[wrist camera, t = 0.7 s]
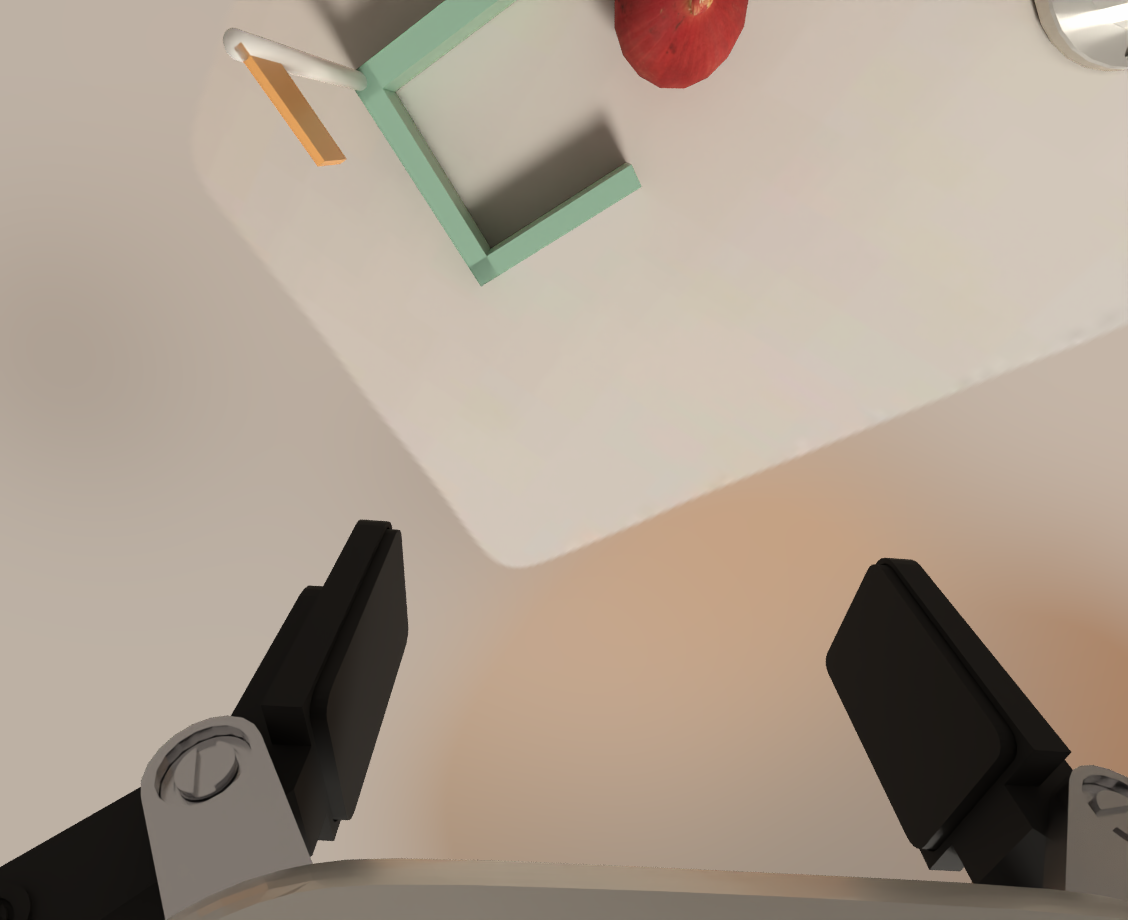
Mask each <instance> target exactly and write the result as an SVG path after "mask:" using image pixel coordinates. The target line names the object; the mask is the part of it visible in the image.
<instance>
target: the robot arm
mask: <svg viewBox="0 0 1128 920" xmlns="http://www.w3.org/2000/svg"><path fill="white" fill-rule="evenodd" d="M1034 1H1035V4H1036V8H1037V12H1038V15H1039V19H1040V22H1041V25H1042V27H1043V29H1044V30H1045V32H1046V34H1047V36H1048V37H1049V39H1050V41H1051V43H1052V44H1053V45H1054V46H1055V47H1056V48H1057V49H1058V50H1059V51H1060V52H1061V53H1062V54H1063V55H1064V56H1065V57H1066V58H1068V59H1070V60H1072V61H1074V62H1076V63H1077V64H1079V65H1081V66H1083V67H1086V68H1091V69H1097V70H1102V71H1119V70H1128V0H1034ZM407 637H408V618H407V604H406V590H405V578H404V563H403V551H402V537H401V532H400V530H393V529H392V525H391V523H390V522H387V521H373V520H359V521H358V522H357V524H356V525H355V527H354V529H353V531H352V533H351V535H350V537H349V539H348V541H347V543H346V545H345V546H344V548H343V550H342V552H341V554H340V556H339V558H338V559H337V561H336V563H335V565H334V567H333V569H332V571H331V573H330V575H329V576H328V578H327V580H326V582H325V584H324V586H308V587H306V588H305V589H304V590H303V591H302V593H301V594H300V596H299V597H298V599H297V601H296V603H295V604H294V606H293V608H292V610H291V611H290V613H289V615H288V617H287V618H286V620H285V622H284V624H283V625H282V627H281V629H280V631H279V633H278V634H277V636H276V638H275V639H274V641H273V643H272V645H271V646H270V648H269V650H268V652H267V654H266V655H265V657H264V659H263V660H262V662H261V664H260V666H259V668H258V669H257V671H256V673H255V674H254V676H253V678H252V680H251V681H250V683H249V685H248V687H247V688H246V690H245V692H244V694H243V696H242V697H241V699H240V701H239V703H238V705H237V706H236V708H235V710H234V711H233V713H232V715H231V716H222V717H213V718H209V719H206V720H203V721H201V722H198V723H195V724H192V725H191V726H189V727H187V728H186V729H184V730H182V731H181V732H179V733H177V734H176V735H174V736H173V737H172V738H171V739H170V740H169V741H167V742H166V743H165V744H164V745H163V746H162V747H161V748H160V749H159V750H158V751H157V753H156V754H155V755H154V757H153V758H152V759H151V761H150V762H149V763H148V765H147V767H146V770H145V772H144V775H143V777H142V780H141V787H140V788H138V789H136V790H134V791H133V792H131V793H129V794H127V795H126V796H124V797H122V798H120V799H119V800H117V801H115V802H114V803H112V804H110V805H108V806H107V807H105V808H103V809H101V810H99V811H98V812H96V813H94V814H92V815H91V816H89V817H87V818H85V819H84V820H82V821H80V822H78V823H77V824H75V825H73V826H71V827H70V828H68V829H66V830H64V831H63V832H61V833H59V834H57V835H56V836H54V837H52V838H50V839H49V840H47V841H45V842H43V843H42V844H40V845H38V846H36V847H35V848H33V849H31V850H29V851H28V852H26V853H24V854H22V855H21V856H19V857H17V858H15V859H14V860H12V861H10V862H8V863H7V864H5V865H3V866H1V867H0V920H1128V778H1127V777H1125V776H1123V775H1121V774H1119V773H1116V772H1114V771H1111V770H1110V769H1106V768H1102V767H1098V766H1094V765H1089V766H1079V767H1078V768H1076V769H1074V770H1072V768H1071V767H1070V766H1069V765H1068V763H1067V762H1066V761H1065V759H1066V757H1067V756H1068V755H1069V754H1070V753H1071V751H1070V750H1069V749H1068V747H1067V746H1066V745H1065V744H1064V742H1063V741H1062V740H1061V739H1060V738H1059V736H1058V735H1057V734H1056V733H1055V732H1054V730H1053V729H1052V728H1051V726H1050V725H1049V724H1048V723H1047V721H1046V720H1045V719H1044V718H1043V716H1042V715H1041V714H1040V713H1039V712H1038V710H1037V709H1036V708H1035V707H1034V705H1033V704H1032V703H1031V702H1030V700H1029V699H1028V698H1027V697H1026V695H1025V694H1024V693H1023V692H1022V691H1021V690H1020V688H1019V687H1018V686H1017V684H1016V683H1015V682H1014V681H1013V679H1012V678H1011V677H1010V676H1009V675H1008V673H1007V672H1006V671H1005V670H1004V669H1003V667H1002V666H1001V665H1000V663H999V662H998V661H997V660H996V659H995V657H994V656H993V655H992V653H991V652H990V651H989V650H988V649H987V647H986V646H985V645H984V644H983V642H982V641H981V640H980V639H979V637H978V636H977V635H976V634H975V632H974V631H973V630H972V629H971V628H970V626H969V625H968V624H967V623H966V621H965V620H964V619H963V618H962V616H961V615H960V614H959V613H958V611H957V610H956V609H955V608H954V607H953V606H952V604H951V603H950V602H949V600H948V599H947V598H946V597H945V595H944V594H943V593H942V592H941V590H940V589H939V588H938V587H937V586H936V584H935V583H934V582H933V581H932V579H931V578H930V577H929V576H928V575H927V573H926V572H925V571H924V569H923V568H922V567H921V566H920V565H919V564H918V563H917V562H916V561H913V560H908V559H894V558H882V559H880V560H879V561H878V562H877V563H876V564H875V565H871V566H870V567H869V569H868V570H867V573H866V574H865V576H864V579H863V581H862V583H861V585H860V587H859V589H858V591H857V593H856V595H855V597H854V599H853V601H852V603H851V606H850V608H849V609H848V612H847V614H846V616H845V618H844V620H843V622H842V624H841V626H840V628H839V630H838V632H837V634H836V636H835V638H834V641H833V642H832V645H831V647H830V649H829V651H828V653H827V656H826V667H827V671H828V674H829V676H830V678H831V680H832V682H833V684H834V686H835V688H836V690H837V693H838V695H839V697H840V699H841V701H842V703H843V705H844V707H845V709H846V711H847V713H848V715H849V717H850V719H851V721H852V724H853V726H854V728H855V730H856V732H857V734H858V736H859V738H860V740H861V742H862V744H863V747H864V749H865V751H866V753H867V755H868V757H869V759H870V761H871V763H872V765H873V767H874V769H875V772H876V774H877V776H878V778H879V780H880V782H881V784H882V786H883V788H884V790H885V792H886V794H887V797H888V799H889V800H890V803H891V805H892V807H893V809H894V811H895V813H896V815H897V817H898V819H899V821H900V824H901V826H902V828H903V830H904V832H905V834H906V836H907V838H908V839H909V841H910V842H911V843H912V844H913V846H914V847H916V848H919V849H920V851H921V853H922V855H923V857H924V859H925V861H926V863H927V866H928V868H929V870H946V871H961V870H962V868H963V867H965V869H966V871H967V873H968V875H969V877H970V878H971V880H972V883H957V882H938V881H919V880H918V881H917V880H900V879H881V878H863V877H844V876H826V875H804V874H783V873H764V872H743V871H721V870H701V869H680V868H658V867H657V868H656V867H636V866H612V865H587V864H564V863H563V864H562V863H541V862H540V863H538V862H516V861H491V860H447V859H405V858H404V859H403V858H394V859H393V858H392V859H361V860H360V859H359V860H341V861H334V862H324V863H316V864H313V863H312V861H311V858H310V857H311V856H312V855H313V852H314V849H315V846H316V843H317V841H318V840H327V841H334V839H335V836H336V833H337V830H338V827H339V824H340V821H341V820H350V819H351V818H352V816H353V814H354V811H355V808H356V805H357V802H358V798H359V795H360V792H361V789H362V785H363V782H364V779H365V775H366V772H367V769H368V766H369V763H370V759H371V756H372V753H373V750H374V747H375V743H376V740H377V737H378V734H379V731H380V727H381V724H382V721H383V718H384V714H385V711H386V708H387V705H388V701H389V698H390V695H391V692H392V689H393V685H394V682H395V679H396V675H397V672H398V669H399V666H400V662H401V659H402V656H403V653H404V649H405V646H406V642H407Z"/></svg>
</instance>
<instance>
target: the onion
mask: <svg viewBox="0 0 1128 920" xmlns="http://www.w3.org/2000/svg"><path fill="white" fill-rule="evenodd" d="M747 5H748V0H615V30H616V34H617V37H618V40H619V43H620V47H621V50H622V53H623V56H624V57H625V58H626V60H627V61H628V62H629V63H630V65H631V66H632V67H633V69H634V70H635V71H636V72H637V74H638V75H639V76H640V77H642V78H644V79H646V80H647V81H649V82H651V83H653V84H654V85H656V86H658V87H660V88H686V87H688V86H691V85H693V84H695V83H697V82H699V81H701V80H703V79H706V78H708V77H709V76H710V75H711V74H712V73H713V72H714V71H715V70H716V69H717V67H718V66H719V65H720V64H721V63H722V62H723V61H724V60H725V59H726V58H727V57H728V55H729V54H730V52H731V50H732V48H733V46H734V44H735V42H736V41H737V39H738V37H739V35H740V33H741V31H742V29H743V27H744V23H745V17H746V11H747Z"/></svg>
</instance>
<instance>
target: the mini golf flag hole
mask: <svg viewBox="0 0 1128 920" xmlns="http://www.w3.org/2000/svg"><path fill="white" fill-rule="evenodd" d="M515 1H516V0H445V1H444V2H442V3H441V4H440V5H439V6H437V7H436V8H435V9H433V10H432V11H431V12H430V13H428V14H427V15H426V16H424V17H423V18H422V19H421V20H419V21H418V22H417V23H416V24H414V25H413V26H412V27H410V28H409V29H408V30H407V31H405V32H404V33H403V34H401V35H400V36H399V37H398V38H396V39H395V40H394V41H392V42H391V43H390V44H389V45H387V46H386V47H385V48H384V49H382V50H381V51H380V52H378V53H377V54H376V55H375V56H373V57H372V58H371V59H369V60H368V61H367V62H366V63H364V64H363V65H362V66H360V67H359V68H358V69H357V70H354V69H352V68H349V67H346V66H343V65H340V64H337V63H334V62H331V61H329V60H326V59H323V58H320V57H317V56H314V55H311V54H308V53H306V52H303V51H300V50H297V49H294V48H291V47H288V46H286V45H283V44H280V43H277V42H274V41H271V40H268V39H265V38H263V37H260V36H257V35H254V34H251V33H248V32H245V31H242V30H240V29H237V28H230V29H228V30H227V31H226V32H225V34H224V36H223V44H224V48H225V50H226V52H227V53H228V54H229V56H230V57H232V58H233V59H234V60H237V61H240V62H244V63H245V65H246V66H247V68H248V69H249V70H250V72H251V73H252V75H253V76H254V77H255V79H256V80H257V82H258V83H259V84H260V86H261V87H262V89H263V90H264V91H265V93H266V94H267V96H268V97H269V98H270V100H271V101H272V103H273V104H274V105H275V107H276V108H277V110H278V111H279V113H280V114H281V115H282V117H283V118H284V120H285V121H286V122H287V124H288V125H289V127H290V128H291V129H292V131H293V132H294V134H295V135H296V136H297V138H298V139H299V141H300V142H301V143H302V145H303V146H304V148H305V149H306V150H307V152H308V153H309V155H310V156H311V157H312V159H313V160H314V162H315V163H316V165H317V166H326V165H335V164H341V163H342V162H343V161H345V160H346V157H345V156H344V155H343V153H342V152H341V150H340V149H339V147H338V146H337V144H336V143H335V141H334V140H333V138H332V137H331V136H330V134H329V133H328V131H327V130H326V128H325V127H324V125H323V124H322V122H321V121H320V119H319V118H318V117H317V115H316V114H315V112H314V111H313V109H312V108H311V106H310V105H309V103H308V102H307V100H306V99H305V98H304V96H303V95H302V93H301V92H300V90H299V89H298V87H297V86H296V84H295V83H294V81H293V80H292V79H291V77H290V76H289V74H293V75H297V76H301V77H305V78H309V79H313V80H317V81H321V82H325V83H329V84H333V85H338V86H342V87H346V88H350V89H354V90H355V91H356V93H357V94H358V96H359V97H360V99H361V100H362V102H363V104H364V105H365V107H366V108H367V110H368V111H369V113H370V114H371V116H372V118H373V119H374V121H375V122H376V124H377V125H378V127H379V128H380V130H381V132H382V133H383V135H384V136H385V138H386V139H387V141H388V142H389V144H390V146H391V147H392V149H393V150H394V152H395V153H396V155H397V156H398V158H399V160H400V161H401V163H402V164H403V166H404V167H405V169H406V170H407V172H408V174H409V175H410V177H411V178H412V180H413V181H414V183H415V184H416V186H417V188H418V189H419V191H420V192H421V194H422V195H423V197H424V198H425V200H426V202H427V203H428V205H429V206H430V208H431V209H432V211H433V213H434V214H435V216H436V217H437V219H438V220H439V222H440V223H441V225H442V227H443V228H444V230H445V231H446V233H447V234H448V236H449V237H450V239H451V241H452V242H453V244H454V245H455V247H456V248H457V250H458V251H459V253H460V255H461V256H462V258H463V259H464V261H465V262H466V264H467V265H468V267H469V269H470V270H471V272H472V273H473V275H474V276H475V278H476V279H477V281H478V283H479V284H480V286H482V285H484V284H486V283H487V282H489V281H491V280H492V279H494V278H495V277H497V276H499V275H500V274H502V273H503V272H505V271H507V270H508V269H510V268H511V267H513V266H515V265H516V264H518V263H520V262H521V261H523V260H524V259H526V258H528V257H529V256H531V255H532V254H534V253H536V252H537V251H539V250H540V249H542V248H544V247H545V246H547V245H549V244H550V243H552V242H553V241H555V240H557V239H558V238H560V237H561V236H563V235H565V234H566V233H568V232H569V231H571V230H573V229H574V228H576V227H577V226H579V225H581V224H582V223H584V222H586V221H587V220H589V219H590V218H592V217H594V216H595V215H597V214H598V213H600V212H602V211H603V210H605V209H606V208H608V207H610V206H611V205H613V204H615V203H616V202H618V201H619V200H621V199H623V198H624V197H626V196H627V195H629V194H631V193H632V192H634V191H635V190H637V189H639V188H640V187H641V184H640V182H639V180H638V178H637V176H636V174H635V171H634V169H633V167H632V165H631V164H628V163H624V164H623V165H621V166H620V167H618V168H617V169H615V170H613V171H612V172H610V173H609V174H607V175H606V176H604V177H602V178H601V179H599V180H598V181H596V182H595V183H593V184H591V185H590V186H588V187H587V188H585V189H584V190H582V191H581V192H579V193H577V194H576V195H574V196H573V197H571V198H570V199H568V200H566V201H565V202H563V203H562V204H560V205H559V206H557V207H555V208H554V209H552V210H551V211H549V212H548V213H546V214H544V215H543V216H541V217H540V218H538V219H537V220H535V221H533V222H532V223H530V224H529V225H527V226H526V227H524V228H522V229H521V230H519V231H518V232H516V233H515V234H513V235H511V236H510V237H508V238H507V239H505V240H504V241H502V242H500V243H499V244H497V245H496V246H494V247H493V248H490V246H489V245H488V243H487V241H486V240H485V238H484V236H483V235H482V233H481V232H480V230H479V228H478V227H477V225H476V223H475V222H474V220H473V219H472V217H471V215H470V214H469V212H468V210H467V209H466V207H465V205H464V204H463V202H462V201H461V199H460V197H459V196H458V194H457V192H456V191H455V189H454V188H453V186H452V184H451V183H450V181H449V179H448V178H447V176H446V174H445V173H444V171H443V170H442V168H441V166H440V165H439V163H438V161H437V160H436V158H435V156H434V155H433V153H432V152H431V150H430V148H429V147H428V145H427V143H426V142H425V140H424V139H423V137H422V135H421V134H420V132H419V130H418V129H417V127H416V125H415V124H414V122H413V121H412V119H411V117H410V116H409V114H408V112H407V111H406V109H405V108H404V106H403V104H402V103H401V101H400V99H399V98H398V96H397V94H396V93H395V92H396V91H397V90H398V89H399V88H401V87H402V86H403V85H405V84H406V83H407V82H409V81H410V80H411V79H413V78H414V77H415V76H417V75H418V74H419V73H421V72H422V71H423V70H425V69H426V68H427V67H429V66H430V65H431V64H433V63H434V62H435V61H437V60H438V59H439V58H441V57H442V56H443V55H445V54H446V53H447V52H449V51H450V50H451V49H453V48H454V47H455V46H457V45H458V44H459V43H461V42H462V41H463V40H465V39H466V38H467V37H469V36H470V35H471V34H473V33H474V32H475V31H477V30H478V29H479V28H481V27H482V26H483V25H485V24H486V23H487V22H488V21H490V20H491V19H492V18H494V17H495V16H496V15H498V14H499V13H500V12H502V11H503V10H504V9H506V8H507V7H508V6H510V5H511V4H512V3H514V2H515ZM288 73H289V74H288Z"/></svg>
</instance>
